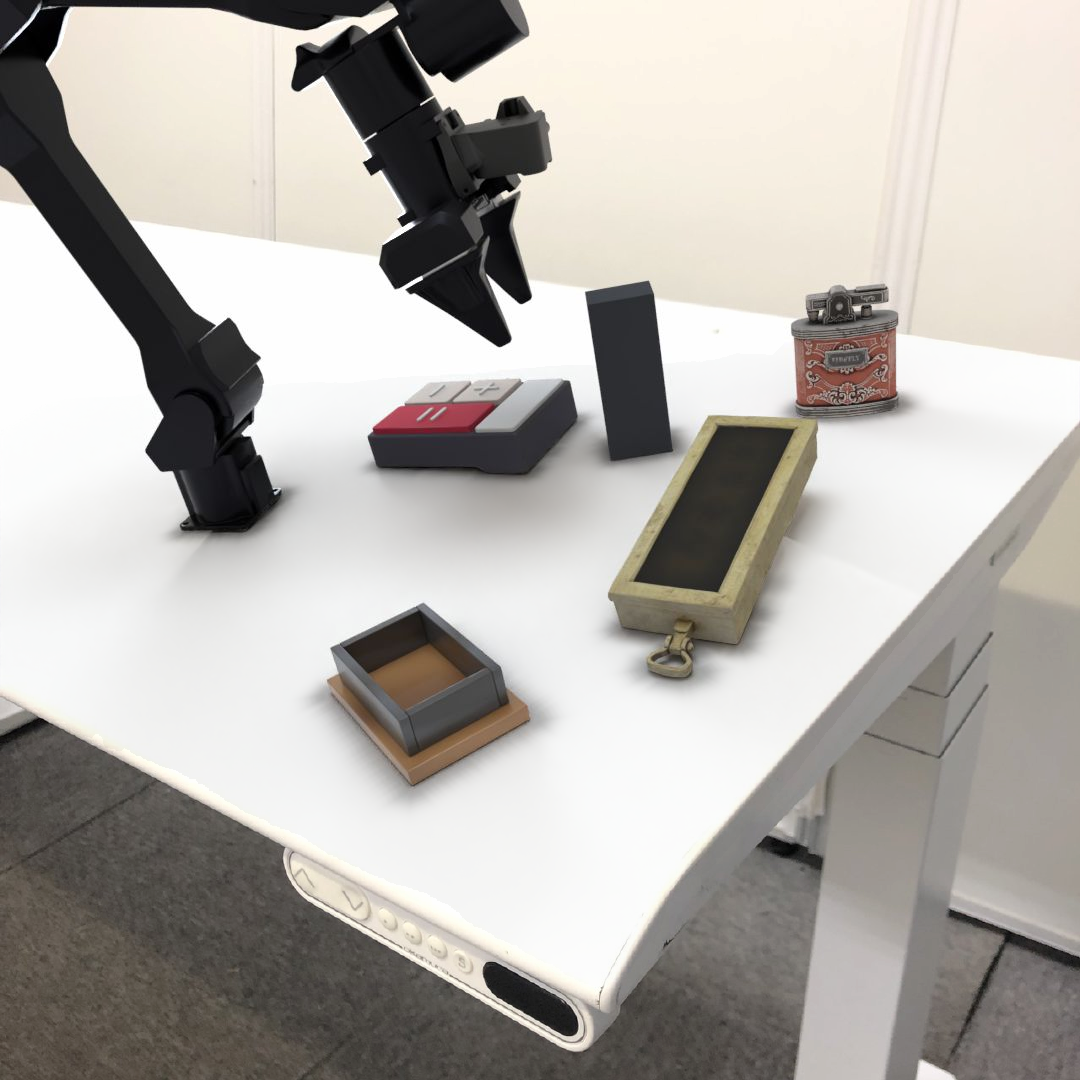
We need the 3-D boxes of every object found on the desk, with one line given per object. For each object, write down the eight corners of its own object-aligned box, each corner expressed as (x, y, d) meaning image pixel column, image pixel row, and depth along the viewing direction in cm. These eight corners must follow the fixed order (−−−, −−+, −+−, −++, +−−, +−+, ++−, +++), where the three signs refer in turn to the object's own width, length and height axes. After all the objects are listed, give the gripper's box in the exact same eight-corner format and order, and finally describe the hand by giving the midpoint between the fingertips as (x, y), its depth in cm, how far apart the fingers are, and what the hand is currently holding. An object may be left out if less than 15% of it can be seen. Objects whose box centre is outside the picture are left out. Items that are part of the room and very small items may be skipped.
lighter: (796, 420, 84) (790, 301, 79) (794, 403, 86) (788, 287, 81) (901, 411, 82) (901, 288, 77) (895, 394, 85) (895, 274, 80)
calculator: (426, 378, 97) (570, 371, 89) (438, 420, 99) (580, 416, 91) (361, 428, 88) (514, 425, 81) (376, 473, 90) (526, 474, 83)
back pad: (611, 461, 83) (587, 304, 77) (608, 443, 86) (584, 291, 80) (673, 451, 83) (654, 293, 76) (667, 433, 86) (649, 280, 79)
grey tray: (330, 692, 62) (314, 645, 61) (437, 638, 65) (425, 592, 64) (412, 786, 54) (396, 735, 52) (531, 719, 57) (519, 668, 55)
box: (826, 472, 72) (819, 412, 69) (736, 716, 58) (722, 654, 55) (713, 467, 76) (702, 410, 73) (602, 694, 62) (582, 635, 59)
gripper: (471, 74, 58) (603, 314, 64) (523, 39, 74) (625, 235, 80) (316, 172, 62) (454, 389, 68) (397, 119, 78) (503, 300, 84)
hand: (516, 321), depth 75 cm, fingers open, 9 cm apart
